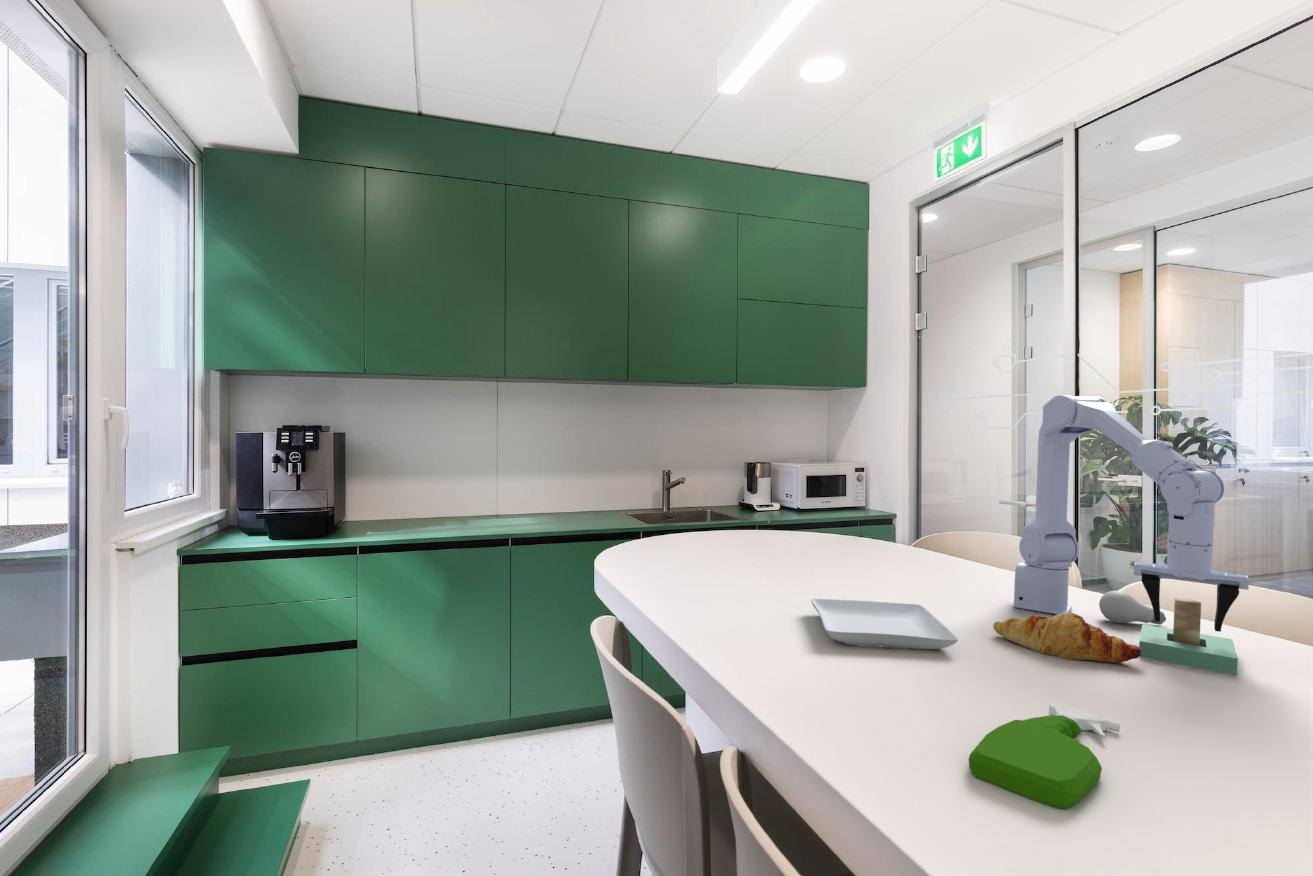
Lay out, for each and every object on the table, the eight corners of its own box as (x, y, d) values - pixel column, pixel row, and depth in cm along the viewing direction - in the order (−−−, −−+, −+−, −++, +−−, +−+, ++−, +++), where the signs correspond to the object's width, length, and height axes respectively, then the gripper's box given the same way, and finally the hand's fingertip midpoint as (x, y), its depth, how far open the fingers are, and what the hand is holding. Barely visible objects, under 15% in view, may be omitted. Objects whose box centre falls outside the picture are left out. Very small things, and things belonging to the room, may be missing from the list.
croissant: (988, 659, 113) (982, 624, 111) (1001, 621, 120) (996, 587, 117) (1139, 692, 100) (1137, 652, 97) (1144, 647, 106) (1143, 608, 103)
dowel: (1173, 655, 107) (1175, 601, 107) (1172, 650, 110) (1174, 597, 110) (1199, 660, 105) (1202, 605, 105) (1198, 654, 108) (1200, 600, 108)
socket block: (1138, 656, 106) (1139, 640, 106) (1141, 638, 116) (1142, 624, 116) (1237, 674, 99) (1237, 658, 99) (1231, 654, 108) (1232, 639, 108)
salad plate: (920, 619, 126) (921, 601, 126) (960, 659, 104) (961, 638, 104) (809, 613, 128) (809, 596, 128) (825, 651, 107) (826, 630, 107)
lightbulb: (1161, 600, 126) (1098, 583, 129) (1177, 607, 120) (1111, 589, 123) (1153, 630, 126) (1090, 613, 129) (1169, 639, 120) (1103, 621, 123)
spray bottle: (958, 775, 69) (1034, 712, 86) (1076, 822, 61) (1134, 742, 78) (959, 747, 69) (1034, 690, 86) (1077, 791, 61) (1135, 718, 78)
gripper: (1134, 540, 108) (1131, 621, 109) (1251, 552, 99) (1248, 640, 100) (1136, 535, 114) (1133, 612, 114) (1247, 546, 105) (1244, 630, 105)
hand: (1186, 625), depth 107 cm, fingers open, 7 cm apart
